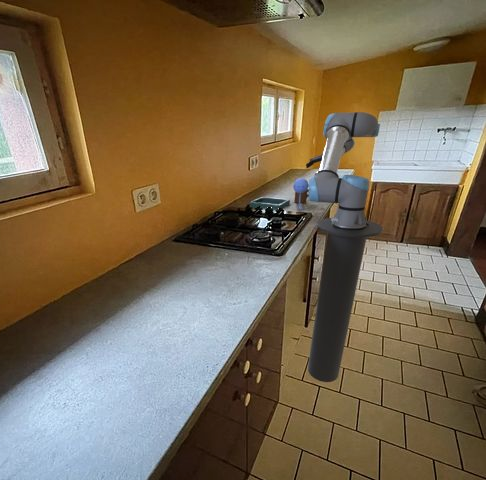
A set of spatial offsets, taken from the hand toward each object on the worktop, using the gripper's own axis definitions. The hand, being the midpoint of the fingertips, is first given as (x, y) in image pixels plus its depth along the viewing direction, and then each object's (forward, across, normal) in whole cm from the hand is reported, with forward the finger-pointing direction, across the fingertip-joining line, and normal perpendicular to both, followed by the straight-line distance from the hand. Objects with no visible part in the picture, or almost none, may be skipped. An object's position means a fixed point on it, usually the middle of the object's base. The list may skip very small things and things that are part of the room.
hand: (315, 166), depth 188 cm
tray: (+32, -12, +12) cm, 37 cm away
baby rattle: (+27, +7, +11) cm, 30 cm away
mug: (+11, -4, +20) cm, 23 cm away
